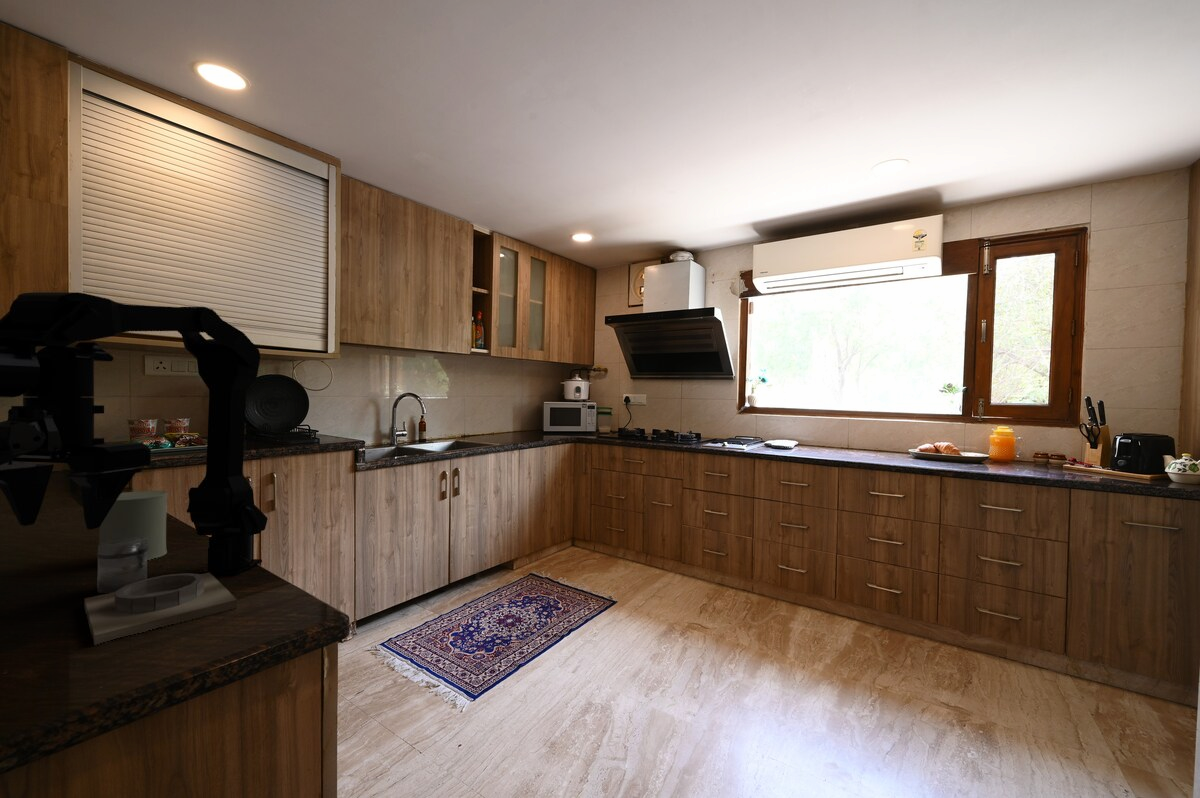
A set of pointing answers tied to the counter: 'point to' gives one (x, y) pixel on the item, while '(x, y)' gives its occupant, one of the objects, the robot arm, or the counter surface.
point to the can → (138, 520)
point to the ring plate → (155, 604)
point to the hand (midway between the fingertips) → (60, 526)
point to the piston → (121, 563)
